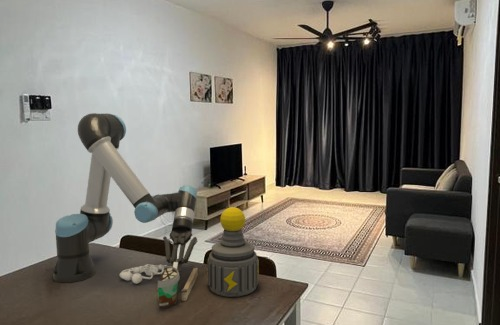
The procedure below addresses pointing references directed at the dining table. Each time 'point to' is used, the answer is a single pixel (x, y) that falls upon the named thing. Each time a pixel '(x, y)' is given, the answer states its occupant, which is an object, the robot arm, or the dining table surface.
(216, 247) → the decorative lamp
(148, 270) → the tangled rod sculpture
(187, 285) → the birch chute
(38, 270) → the dining table surface
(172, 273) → the food container
